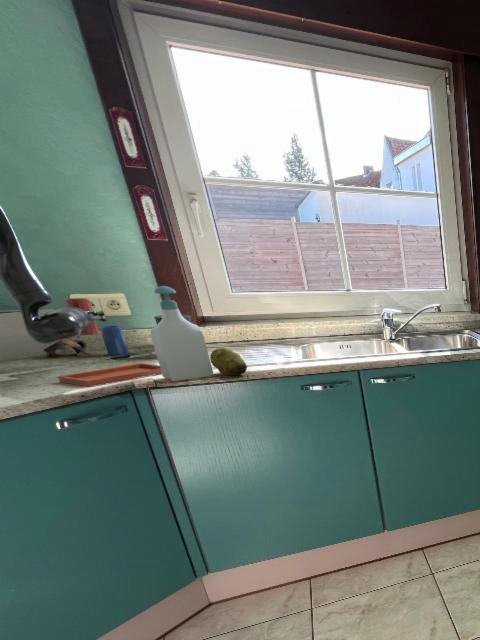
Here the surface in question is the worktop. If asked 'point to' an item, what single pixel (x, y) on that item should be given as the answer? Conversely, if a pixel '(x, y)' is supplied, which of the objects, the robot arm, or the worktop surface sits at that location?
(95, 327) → the red cup
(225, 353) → the green oval piece
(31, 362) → the worktop surface
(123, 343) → the blue cup
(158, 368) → the tray
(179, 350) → the soap bottle
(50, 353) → the black and orange arch
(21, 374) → the worktop surface
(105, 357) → the worktop surface
